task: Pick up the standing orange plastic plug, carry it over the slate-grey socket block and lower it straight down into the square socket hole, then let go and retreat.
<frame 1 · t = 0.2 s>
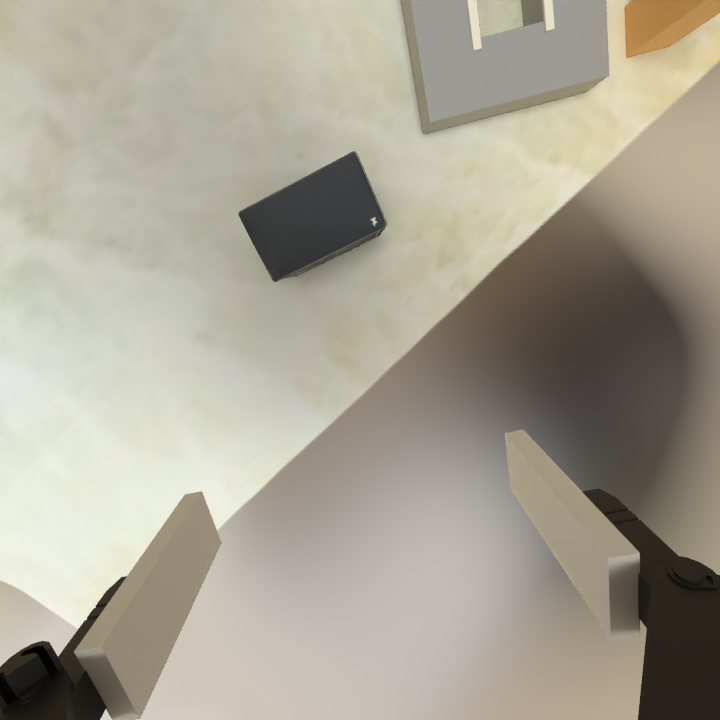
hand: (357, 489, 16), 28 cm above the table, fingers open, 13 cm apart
socket: (492, 16, 34), on the table
plug: (647, 27, 35), on the table
small box: (324, 227, 40), on the table
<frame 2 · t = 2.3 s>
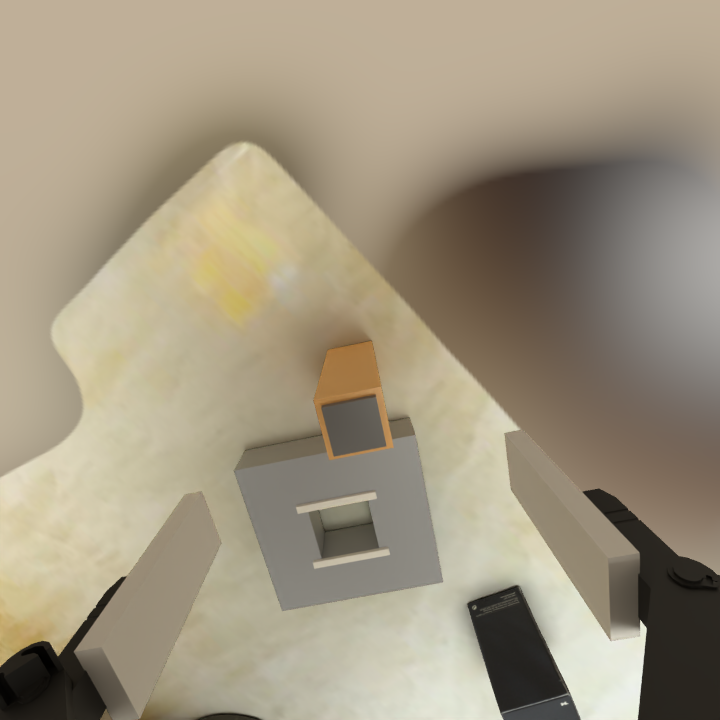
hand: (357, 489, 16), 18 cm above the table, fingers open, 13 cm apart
socket: (344, 504, 38), on the table
plug: (354, 366, 34), on the table
small box: (504, 624, 43), on the table
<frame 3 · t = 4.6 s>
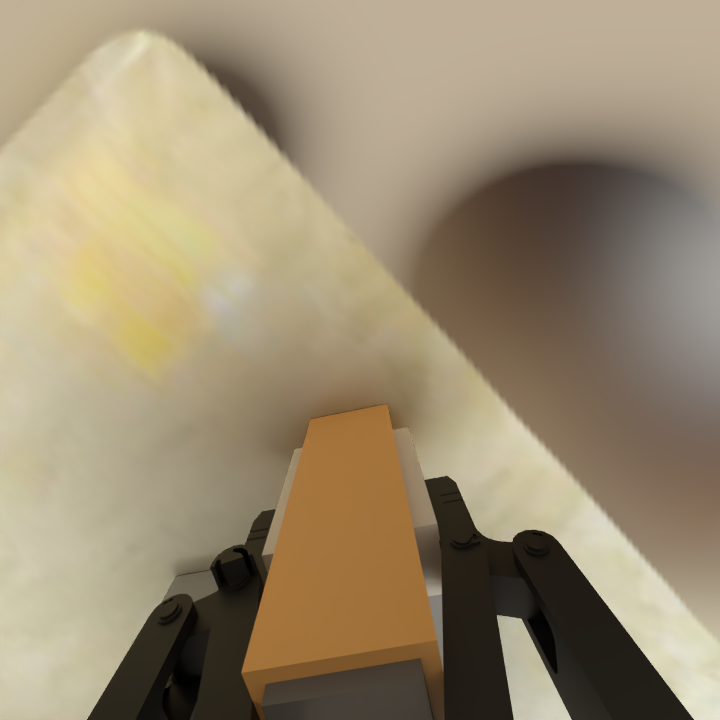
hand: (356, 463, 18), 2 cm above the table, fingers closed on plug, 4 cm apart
socket: (340, 653, 23), on the table
plug: (356, 446, 20), on the table, touching gripper
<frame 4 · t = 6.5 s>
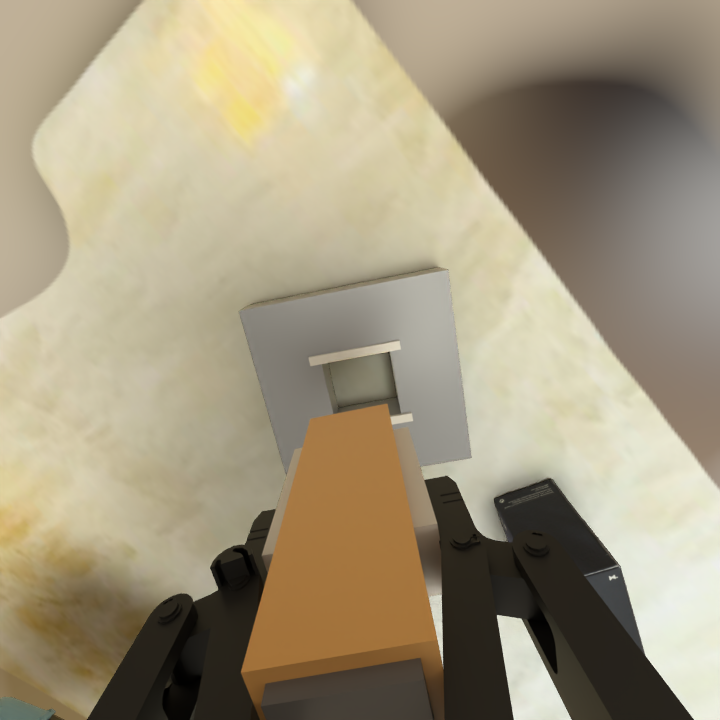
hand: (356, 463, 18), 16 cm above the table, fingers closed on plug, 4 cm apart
socket: (361, 374, 34), on the table
plug: (356, 445, 20), point 14 cm above the table, touching gripper
small box: (533, 526, 39), on the table
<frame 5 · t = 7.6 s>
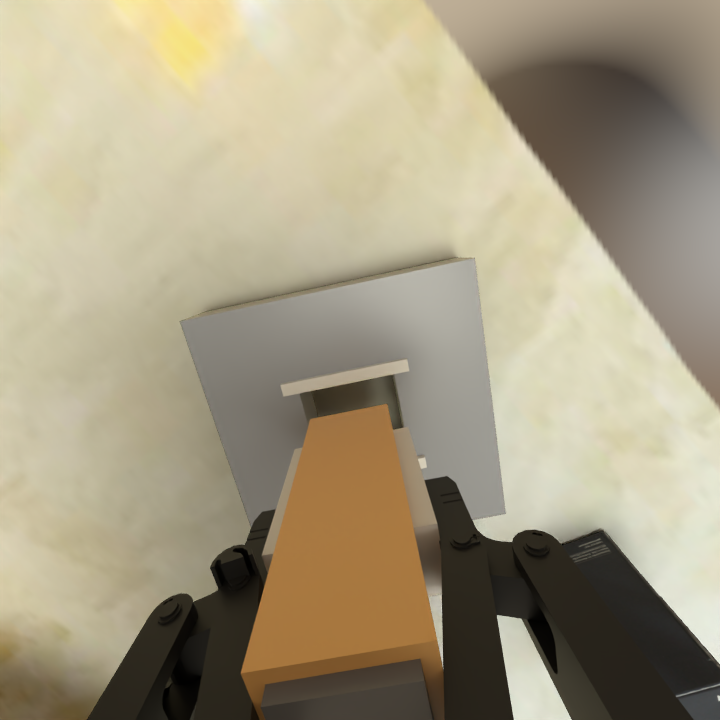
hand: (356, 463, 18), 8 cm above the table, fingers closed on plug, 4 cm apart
socket: (356, 402, 25), on the table
plug: (356, 446, 20), point 6 cm above the table, touching gripper
small box: (578, 588, 30), on the table
when the fingers open (4 cm above the table, at t = 8.5 s): plug drops 3 cm, resting in socket.
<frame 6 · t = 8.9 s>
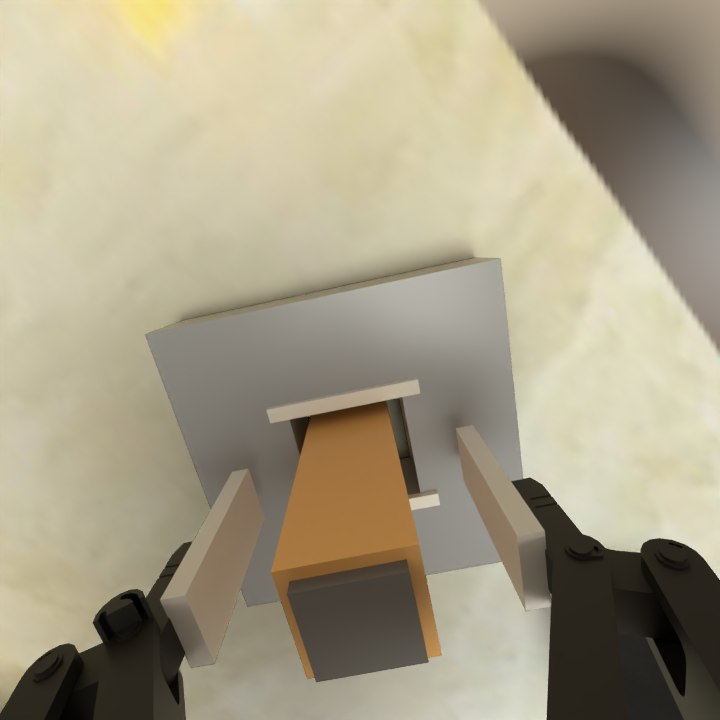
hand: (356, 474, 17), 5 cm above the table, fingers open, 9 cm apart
socket: (356, 425, 22), on the table
plug: (355, 425, 22), resting in socket
small box: (607, 630, 27), on the table
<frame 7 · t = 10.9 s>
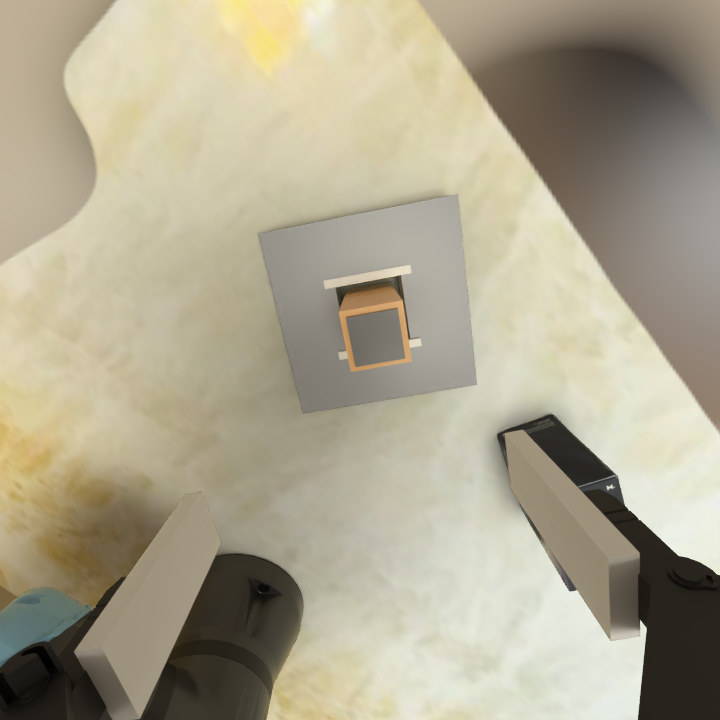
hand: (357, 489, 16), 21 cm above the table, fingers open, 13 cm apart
socket: (372, 306, 35), on the table
plug: (372, 307, 35), resting in socket
small box: (534, 463, 40), on the table
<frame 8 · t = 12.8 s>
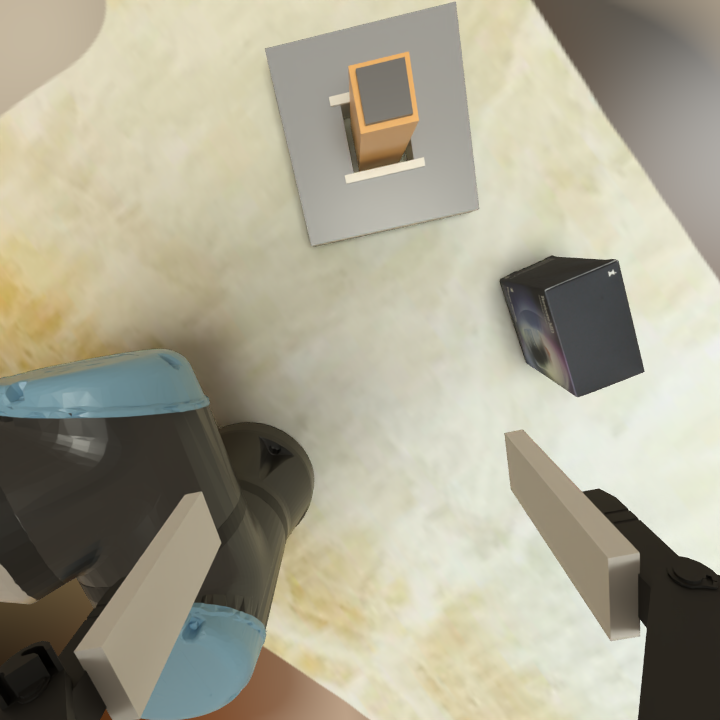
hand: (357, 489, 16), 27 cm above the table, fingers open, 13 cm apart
socket: (375, 144, 36), on the table
plug: (375, 144, 36), resting in socket
small box: (537, 312, 41), on the table
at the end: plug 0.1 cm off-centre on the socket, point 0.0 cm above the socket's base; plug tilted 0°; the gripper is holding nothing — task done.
